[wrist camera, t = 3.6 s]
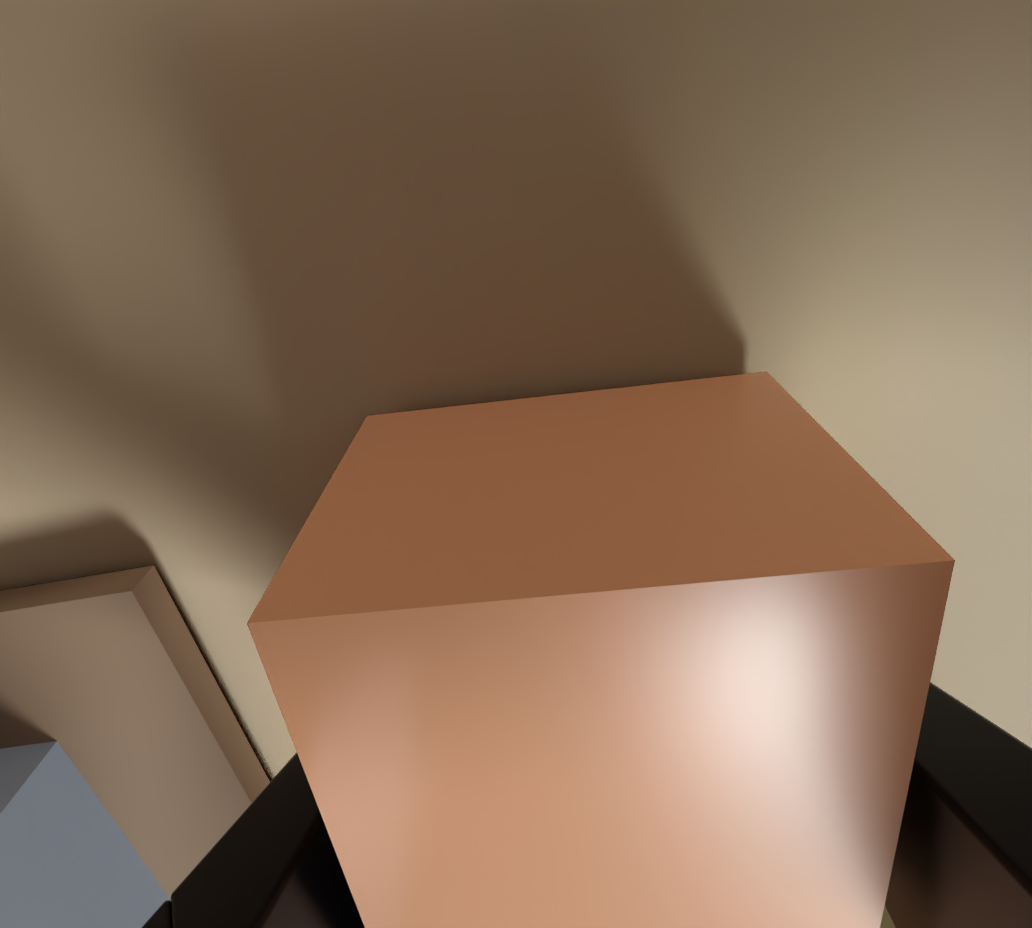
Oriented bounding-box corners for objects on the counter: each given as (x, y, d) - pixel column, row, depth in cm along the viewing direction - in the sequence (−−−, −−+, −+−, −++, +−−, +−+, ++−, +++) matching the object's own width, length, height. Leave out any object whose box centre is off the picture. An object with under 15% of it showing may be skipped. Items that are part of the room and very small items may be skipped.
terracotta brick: (766, 371, 8) (954, 561, 4) (748, 765, 11) (852, 1064, 8) (367, 416, 8) (246, 623, 5) (456, 786, 12) (423, 1079, 8)
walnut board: (153, 565, 10) (131, 590, 9) (387, 1000, 15) (381, 1033, 14) (-420, 660, 11) (-470, 688, 10) (-13, 1036, 16) (-33, 1067, 15)
